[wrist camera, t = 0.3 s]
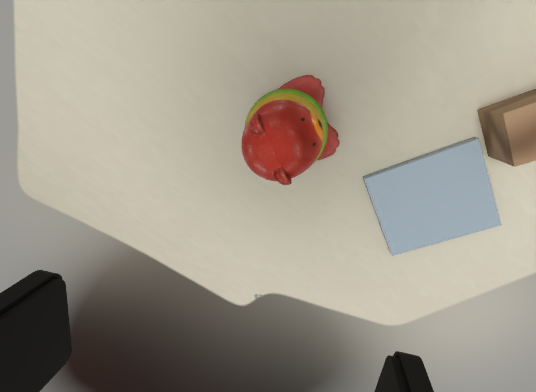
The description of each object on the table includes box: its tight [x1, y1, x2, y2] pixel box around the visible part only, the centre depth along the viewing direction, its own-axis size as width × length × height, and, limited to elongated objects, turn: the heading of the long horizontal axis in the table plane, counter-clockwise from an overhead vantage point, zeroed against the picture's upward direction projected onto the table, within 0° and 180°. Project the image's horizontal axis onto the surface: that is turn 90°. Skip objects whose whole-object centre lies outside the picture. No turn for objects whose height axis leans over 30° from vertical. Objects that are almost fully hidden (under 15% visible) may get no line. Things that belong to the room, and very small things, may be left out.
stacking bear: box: [242, 75, 339, 185], centre depth 34 cm, size 11×10×18 cm
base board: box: [363, 137, 501, 256], centre depth 42 cm, size 12×14×1 cm
